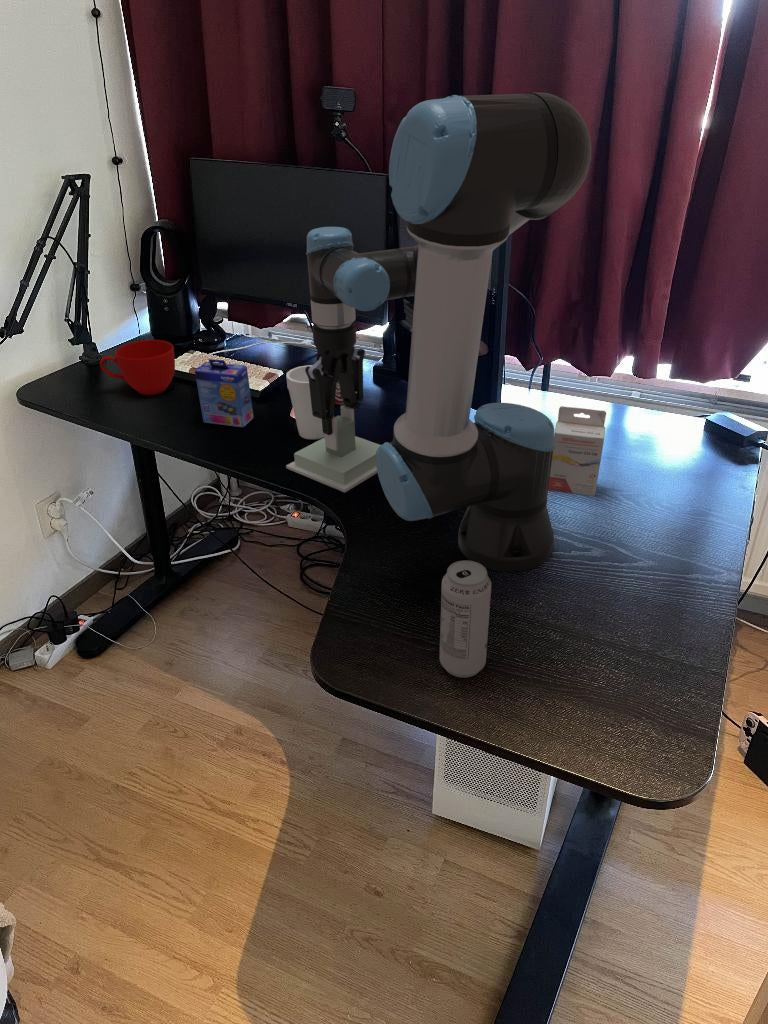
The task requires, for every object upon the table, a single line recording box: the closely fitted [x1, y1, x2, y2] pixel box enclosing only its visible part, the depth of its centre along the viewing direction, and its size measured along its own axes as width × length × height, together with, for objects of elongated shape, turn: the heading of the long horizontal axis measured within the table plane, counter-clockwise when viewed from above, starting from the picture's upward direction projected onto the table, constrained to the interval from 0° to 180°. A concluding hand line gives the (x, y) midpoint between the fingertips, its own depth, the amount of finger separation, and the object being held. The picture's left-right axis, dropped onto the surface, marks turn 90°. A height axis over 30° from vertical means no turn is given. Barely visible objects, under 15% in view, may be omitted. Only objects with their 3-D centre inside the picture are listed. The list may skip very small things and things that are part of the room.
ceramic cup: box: [99, 339, 176, 396], centre depth 175 cm, size 13×17×10 cm
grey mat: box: [285, 460, 378, 493], centre depth 145 cm, size 15×15×1 cm
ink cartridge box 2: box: [548, 405, 607, 497], centre depth 132 cm, size 9×5×15 cm, turn 74°
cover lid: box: [293, 415, 381, 485], centre depth 142 cm, size 13×13×8 cm
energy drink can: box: [439, 559, 492, 679], centre depth 94 cm, size 6×6×15 cm
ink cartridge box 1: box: [194, 358, 255, 428], centre depth 159 cm, size 10×6×14 cm, turn 74°
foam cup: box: [286, 364, 333, 440], centre depth 154 cm, size 10×9×13 cm
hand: (340, 443), depth 143 cm, fingers closed on cover lid, 4 cm apart
